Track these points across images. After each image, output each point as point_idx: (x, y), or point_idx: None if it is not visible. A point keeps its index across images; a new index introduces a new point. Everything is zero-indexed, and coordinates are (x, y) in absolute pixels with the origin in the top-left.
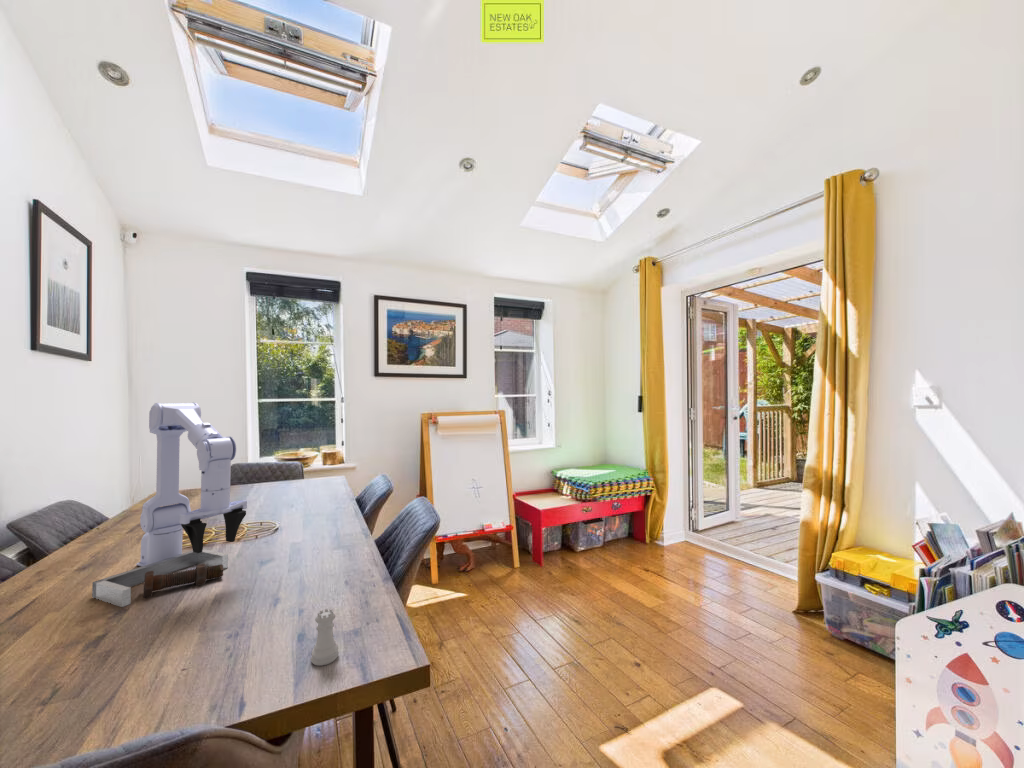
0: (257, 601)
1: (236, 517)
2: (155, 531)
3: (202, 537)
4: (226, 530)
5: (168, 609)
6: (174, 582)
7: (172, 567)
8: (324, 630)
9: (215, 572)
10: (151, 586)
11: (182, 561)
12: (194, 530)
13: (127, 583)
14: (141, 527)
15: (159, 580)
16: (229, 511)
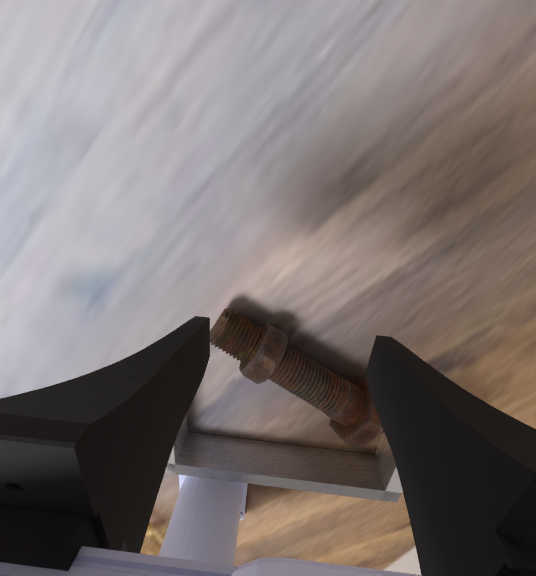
0: (327, 13)
1: (119, 418)
2: None
3: (434, 385)
4: (188, 403)
5: (419, 274)
6: (325, 369)
7: (241, 449)
8: None
9: (242, 323)
10: None
11: (217, 453)
12: None
13: (334, 459)
14: None
15: (353, 397)
16: (116, 560)
